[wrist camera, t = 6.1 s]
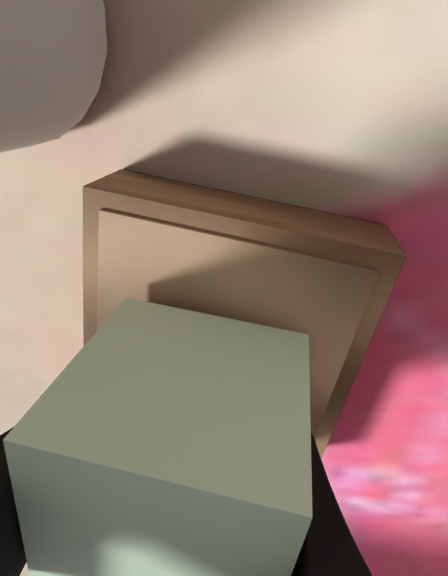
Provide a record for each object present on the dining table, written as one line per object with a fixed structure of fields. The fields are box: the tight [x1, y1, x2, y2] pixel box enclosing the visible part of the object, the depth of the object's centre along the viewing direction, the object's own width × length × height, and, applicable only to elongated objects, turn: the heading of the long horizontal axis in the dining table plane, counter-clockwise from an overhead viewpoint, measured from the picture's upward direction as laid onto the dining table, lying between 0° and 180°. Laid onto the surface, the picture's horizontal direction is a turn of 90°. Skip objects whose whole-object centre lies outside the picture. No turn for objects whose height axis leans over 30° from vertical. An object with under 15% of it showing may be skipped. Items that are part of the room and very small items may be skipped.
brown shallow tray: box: [83, 169, 406, 458], centre depth 16 cm, size 12×10×3 cm
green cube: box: [3, 298, 313, 576], centre depth 11 cm, size 6×6×6 cm
